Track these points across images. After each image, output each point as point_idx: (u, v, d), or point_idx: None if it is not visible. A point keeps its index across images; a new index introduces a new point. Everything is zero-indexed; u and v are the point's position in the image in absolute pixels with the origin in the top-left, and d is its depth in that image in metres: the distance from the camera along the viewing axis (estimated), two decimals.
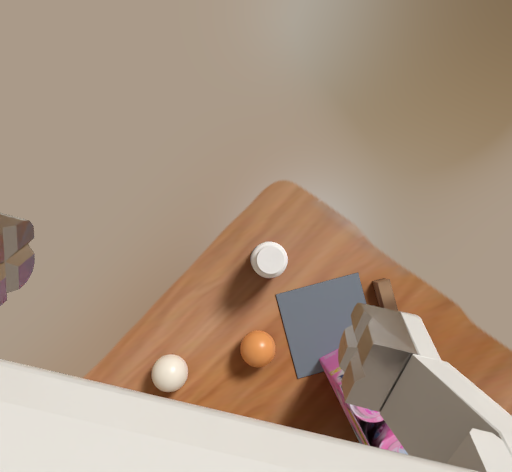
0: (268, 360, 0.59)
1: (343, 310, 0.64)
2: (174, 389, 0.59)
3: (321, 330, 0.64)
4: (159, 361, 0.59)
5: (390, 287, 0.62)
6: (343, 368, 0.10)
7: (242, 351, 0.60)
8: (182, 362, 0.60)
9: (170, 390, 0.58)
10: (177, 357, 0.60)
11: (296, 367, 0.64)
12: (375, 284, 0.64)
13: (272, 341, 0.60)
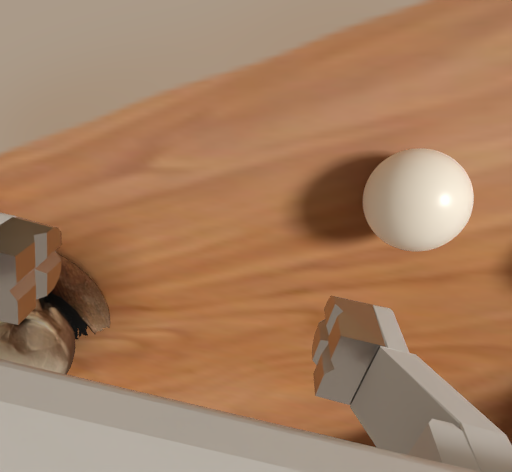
0: None
1: None
2: (415, 250, 0.21)
3: None
4: (425, 160, 0.19)
5: None
6: (316, 362, 0.10)
7: None
8: (473, 195, 0.20)
9: (406, 247, 0.21)
10: None
11: None
12: None
13: None
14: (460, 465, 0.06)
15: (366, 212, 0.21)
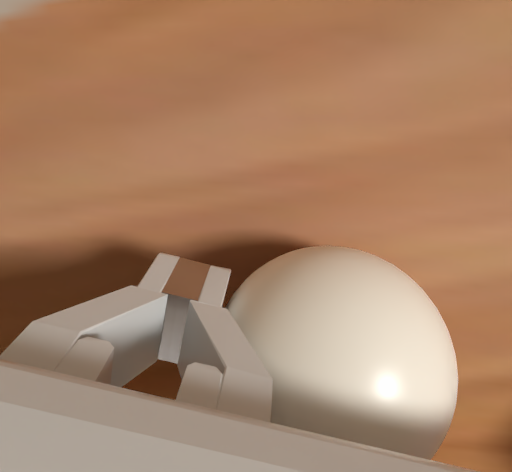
0: None
1: None
2: None
3: None
4: (341, 303, 0.07)
5: None
6: None
7: None
8: (456, 373, 0.08)
9: None
10: (443, 323, 0.08)
11: None
12: None
13: None
14: (194, 403, 0.06)
15: None
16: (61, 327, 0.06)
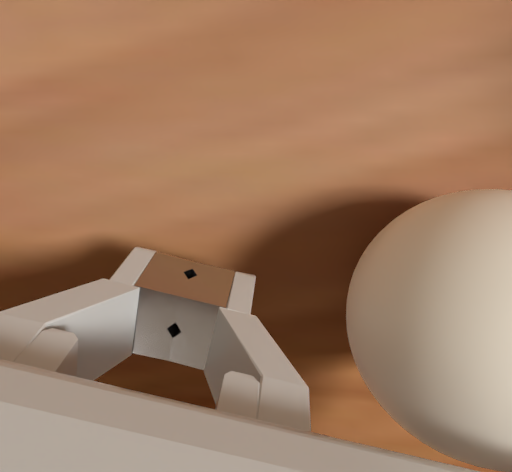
0: None
1: None
2: None
3: None
4: None
5: None
6: None
7: None
8: None
9: None
10: None
11: None
12: None
13: None
14: (235, 412, 0.06)
15: None
16: (25, 319, 0.06)
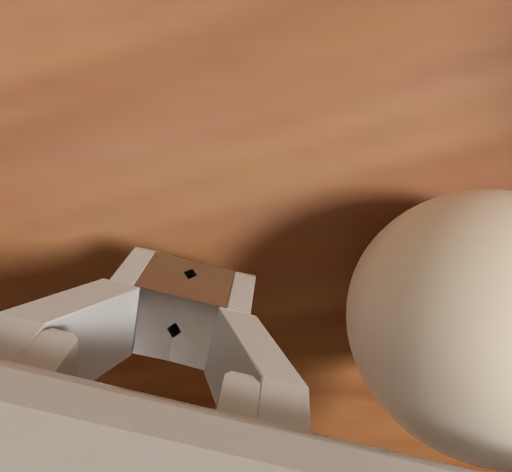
0: None
1: None
2: None
3: None
4: None
5: None
6: None
7: None
8: None
9: None
10: None
11: None
12: None
13: None
14: (235, 412, 0.06)
15: None
16: (25, 319, 0.06)
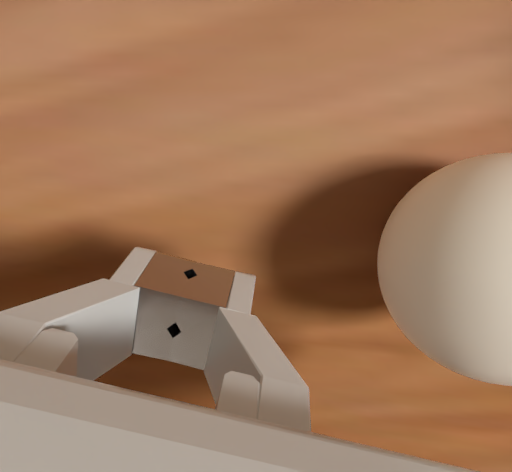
0: None
1: None
2: None
3: None
4: None
5: None
6: None
7: None
8: None
9: None
10: None
11: None
12: None
13: None
14: (235, 412, 0.06)
15: None
16: (25, 319, 0.06)
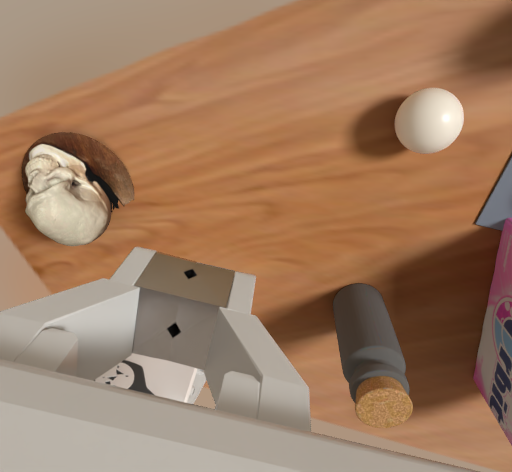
0: None
1: None
2: None
3: None
4: None
5: None
6: None
7: None
8: None
9: None
10: None
11: (486, 209, 0.40)
12: None
13: None
14: (235, 412, 0.06)
15: None
16: (25, 319, 0.06)
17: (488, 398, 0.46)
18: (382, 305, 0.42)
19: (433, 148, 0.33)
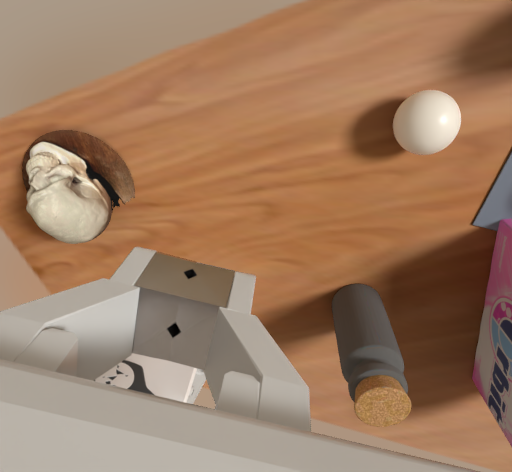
0: None
1: None
2: None
3: None
4: None
5: None
6: None
7: None
8: None
9: None
10: None
11: (483, 209, 0.40)
12: None
13: None
14: (235, 412, 0.06)
15: None
16: (25, 319, 0.06)
17: (486, 398, 0.46)
18: (380, 305, 0.43)
19: (431, 149, 0.34)
